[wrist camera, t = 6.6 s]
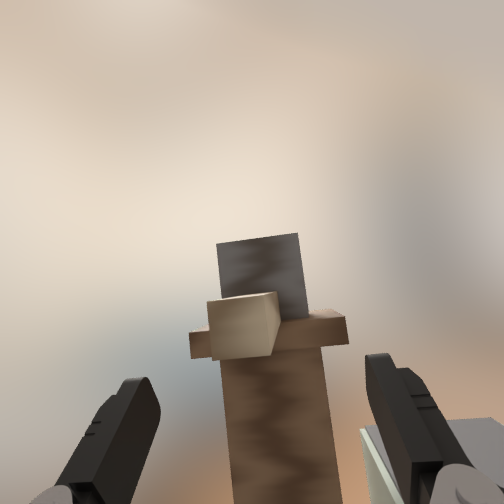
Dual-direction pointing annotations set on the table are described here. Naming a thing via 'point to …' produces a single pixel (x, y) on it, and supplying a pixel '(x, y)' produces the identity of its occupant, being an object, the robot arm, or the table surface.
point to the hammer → (255, 295)
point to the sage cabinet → (469, 437)
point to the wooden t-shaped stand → (281, 414)
